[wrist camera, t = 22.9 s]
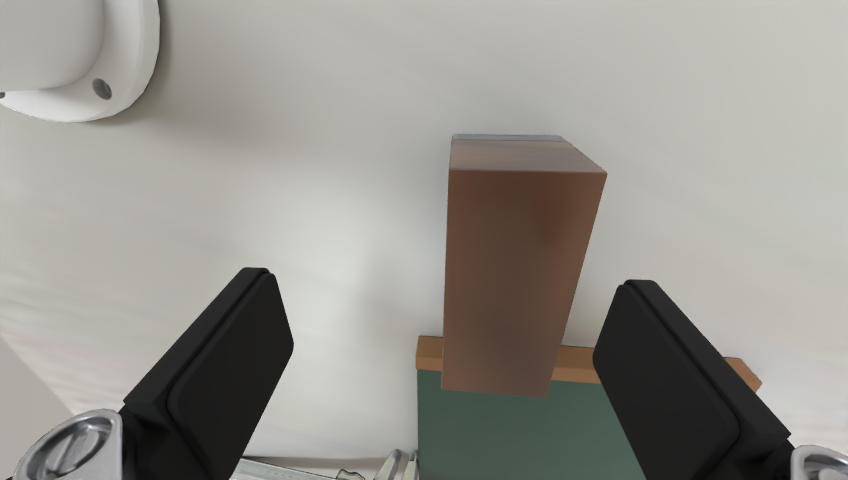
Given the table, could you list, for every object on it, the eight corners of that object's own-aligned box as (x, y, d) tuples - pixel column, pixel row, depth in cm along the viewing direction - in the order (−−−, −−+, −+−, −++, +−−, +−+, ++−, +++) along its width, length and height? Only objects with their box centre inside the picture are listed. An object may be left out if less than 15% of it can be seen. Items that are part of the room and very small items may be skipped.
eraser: (445, 312, 21) (441, 389, 16) (452, 133, 16) (448, 168, 11) (526, 317, 21) (546, 398, 16) (561, 135, 15) (608, 172, 10)
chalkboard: (420, 479, 31) (418, 502, 30) (418, 335, 22) (415, 356, 21) (644, 504, 29) (655, 529, 28) (740, 358, 21) (763, 383, 19)
